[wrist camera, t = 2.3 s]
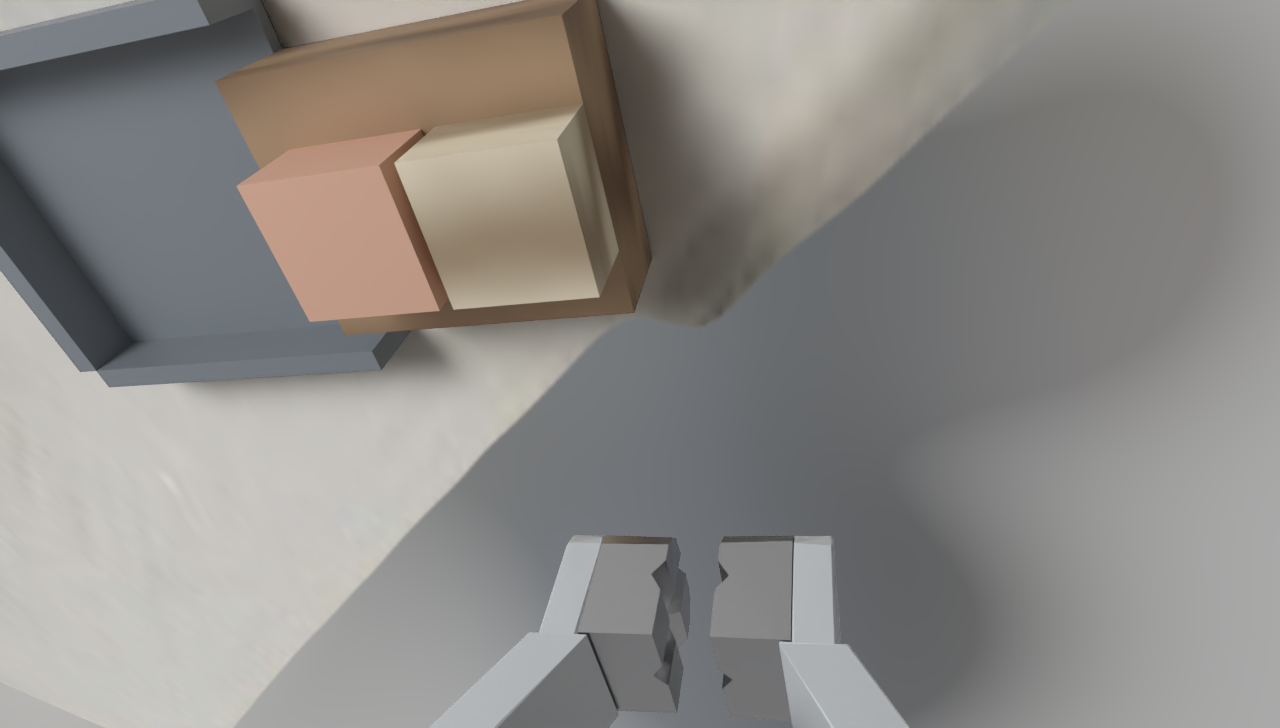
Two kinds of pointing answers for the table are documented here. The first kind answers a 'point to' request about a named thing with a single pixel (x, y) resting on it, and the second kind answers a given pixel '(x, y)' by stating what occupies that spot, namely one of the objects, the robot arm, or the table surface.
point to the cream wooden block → (513, 208)
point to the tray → (149, 200)
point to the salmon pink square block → (346, 229)
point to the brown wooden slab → (454, 116)
